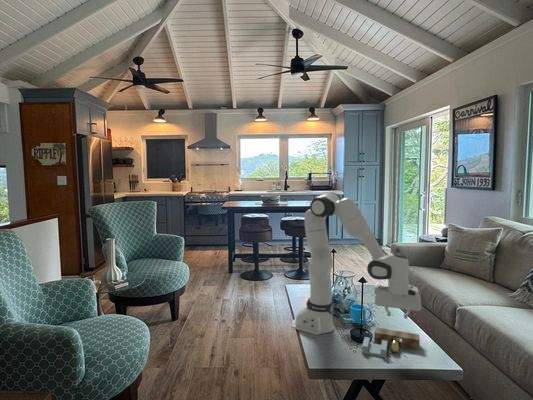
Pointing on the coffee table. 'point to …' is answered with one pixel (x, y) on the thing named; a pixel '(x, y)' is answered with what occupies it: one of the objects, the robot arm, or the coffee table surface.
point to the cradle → (374, 348)
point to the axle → (394, 345)
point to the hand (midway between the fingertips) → (397, 316)
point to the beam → (407, 338)
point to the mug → (358, 313)
